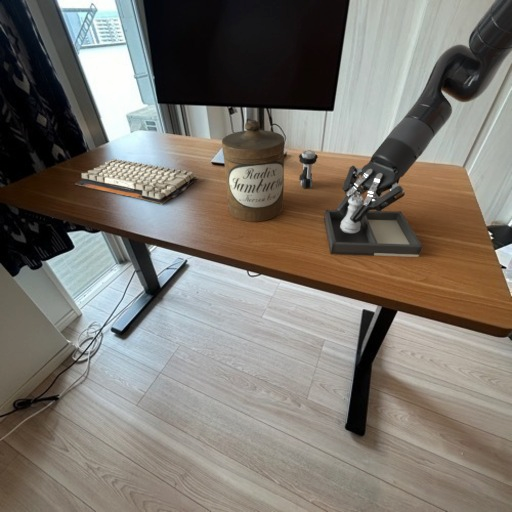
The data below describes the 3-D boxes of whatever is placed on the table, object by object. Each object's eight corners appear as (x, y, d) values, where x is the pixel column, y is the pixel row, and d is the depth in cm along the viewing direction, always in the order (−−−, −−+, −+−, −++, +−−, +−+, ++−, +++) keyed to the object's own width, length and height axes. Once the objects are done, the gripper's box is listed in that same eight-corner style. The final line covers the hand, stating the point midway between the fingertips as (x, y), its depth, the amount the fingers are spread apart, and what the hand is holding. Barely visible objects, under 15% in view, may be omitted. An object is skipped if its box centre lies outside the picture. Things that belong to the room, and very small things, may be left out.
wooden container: (233, 226, 67) (224, 132, 53) (225, 198, 78) (215, 115, 64) (290, 217, 69) (295, 125, 55) (274, 192, 80) (275, 110, 66)
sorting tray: (397, 220, 67) (401, 211, 65) (418, 257, 56) (423, 246, 54) (324, 219, 68) (325, 209, 67) (330, 254, 58) (332, 244, 56)
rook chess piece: (363, 228, 61) (371, 196, 56) (354, 237, 59) (361, 204, 54) (345, 221, 64) (352, 190, 59) (335, 229, 61) (341, 198, 56)
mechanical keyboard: (73, 185, 88) (69, 175, 86) (118, 164, 102) (115, 155, 100) (165, 206, 76) (162, 195, 74) (202, 180, 89) (200, 170, 87)
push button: (292, 181, 86) (294, 149, 79) (308, 178, 87) (311, 147, 80) (301, 190, 81) (303, 157, 74) (317, 187, 82) (321, 154, 76)
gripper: (368, 129, 57) (316, 196, 60) (430, 147, 47) (364, 225, 51) (379, 149, 62) (331, 210, 66) (437, 169, 53) (377, 239, 56)
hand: (346, 216), depth 58 cm, fingers closed on rook chess piece, 3 cm apart
